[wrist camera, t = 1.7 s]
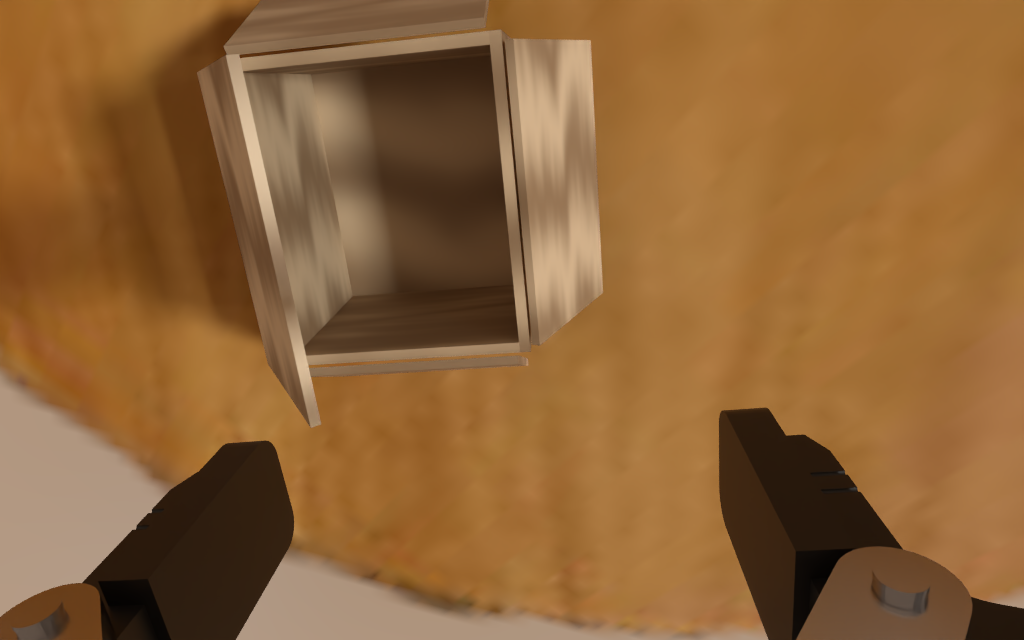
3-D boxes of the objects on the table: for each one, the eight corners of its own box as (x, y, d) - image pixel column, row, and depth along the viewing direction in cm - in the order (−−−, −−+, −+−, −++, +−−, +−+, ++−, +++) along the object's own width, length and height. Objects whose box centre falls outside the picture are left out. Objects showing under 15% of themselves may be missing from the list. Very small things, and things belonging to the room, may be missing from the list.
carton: (293, 6, 35) (193, -21, 26) (584, -28, 34) (594, -71, 24) (357, 344, 42) (298, 423, 32) (602, 329, 41) (615, 406, 31)
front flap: (197, 72, 27) (225, 54, 20) (207, 71, 27) (239, 54, 20) (268, 363, 31) (310, 427, 25) (276, 361, 31) (321, 424, 25)
